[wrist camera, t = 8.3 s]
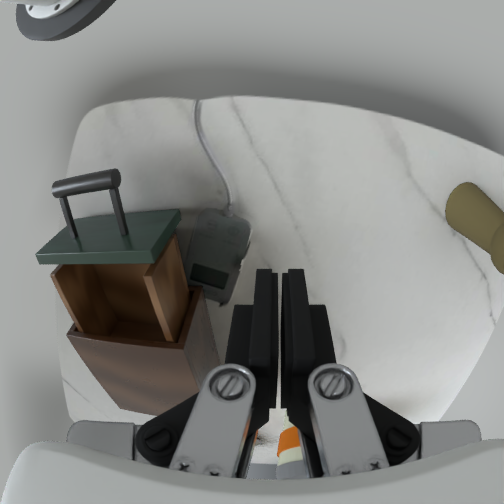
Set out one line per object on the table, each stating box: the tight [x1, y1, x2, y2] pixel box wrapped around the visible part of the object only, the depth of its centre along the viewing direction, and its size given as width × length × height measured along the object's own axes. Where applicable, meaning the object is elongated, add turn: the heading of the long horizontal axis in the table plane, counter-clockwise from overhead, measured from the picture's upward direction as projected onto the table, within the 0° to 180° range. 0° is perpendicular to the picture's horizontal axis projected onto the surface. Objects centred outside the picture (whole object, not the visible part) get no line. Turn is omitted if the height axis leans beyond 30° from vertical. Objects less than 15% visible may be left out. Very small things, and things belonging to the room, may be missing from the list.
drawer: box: [36, 169, 191, 343], centre depth 26 cm, size 21×13×8 cm, turn 4°
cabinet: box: [66, 286, 220, 416], centre depth 33 cm, size 17×15×10 cm
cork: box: [445, 182, 504, 274], centre depth 20 cm, size 6×6×11 cm
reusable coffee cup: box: [275, 411, 307, 480], centre depth 41 cm, size 13×13×15 cm
